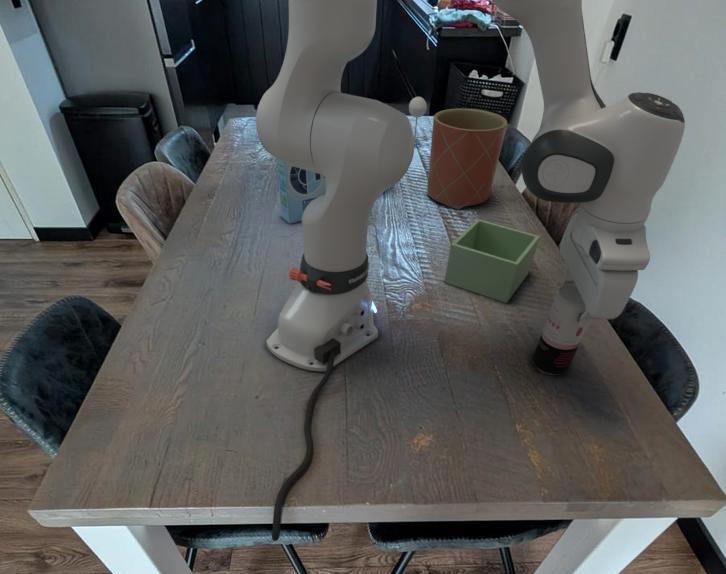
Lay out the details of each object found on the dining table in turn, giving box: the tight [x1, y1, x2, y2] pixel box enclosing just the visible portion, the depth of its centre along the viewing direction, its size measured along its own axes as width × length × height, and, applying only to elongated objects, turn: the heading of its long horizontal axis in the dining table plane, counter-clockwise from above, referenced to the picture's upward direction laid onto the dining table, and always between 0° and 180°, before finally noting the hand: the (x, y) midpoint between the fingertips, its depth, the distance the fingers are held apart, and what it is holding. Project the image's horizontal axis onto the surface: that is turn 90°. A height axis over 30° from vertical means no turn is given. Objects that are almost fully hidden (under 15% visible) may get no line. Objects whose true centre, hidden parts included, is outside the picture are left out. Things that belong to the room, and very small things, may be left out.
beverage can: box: [531, 284, 588, 376], centre depth 82 cm, size 7×7×15 cm
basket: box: [444, 218, 541, 304], centre depth 104 cm, size 15×15×9 cm
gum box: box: [275, 157, 326, 225], centre depth 120 cm, size 20×5×23 cm, turn 123°
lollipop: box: [408, 96, 428, 148], centre depth 161 cm, size 6×6×15 cm
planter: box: [426, 108, 508, 210], centre depth 131 cm, size 19×19×20 cm
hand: (574, 306), depth 79 cm, fingers open, 8 cm apart
